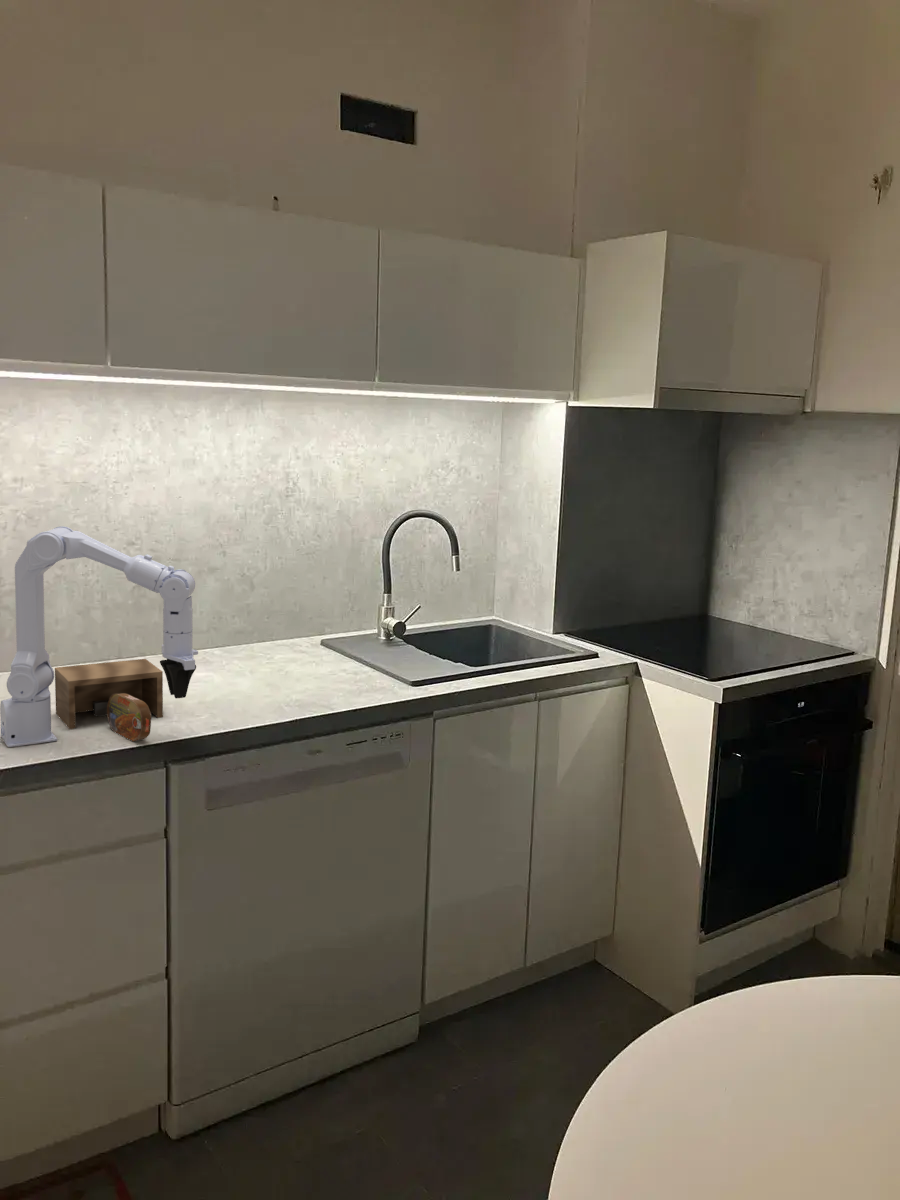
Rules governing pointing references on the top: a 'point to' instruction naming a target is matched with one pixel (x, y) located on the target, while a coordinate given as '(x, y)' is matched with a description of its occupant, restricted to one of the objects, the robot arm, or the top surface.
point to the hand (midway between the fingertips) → (178, 695)
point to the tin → (129, 716)
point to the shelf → (106, 687)
